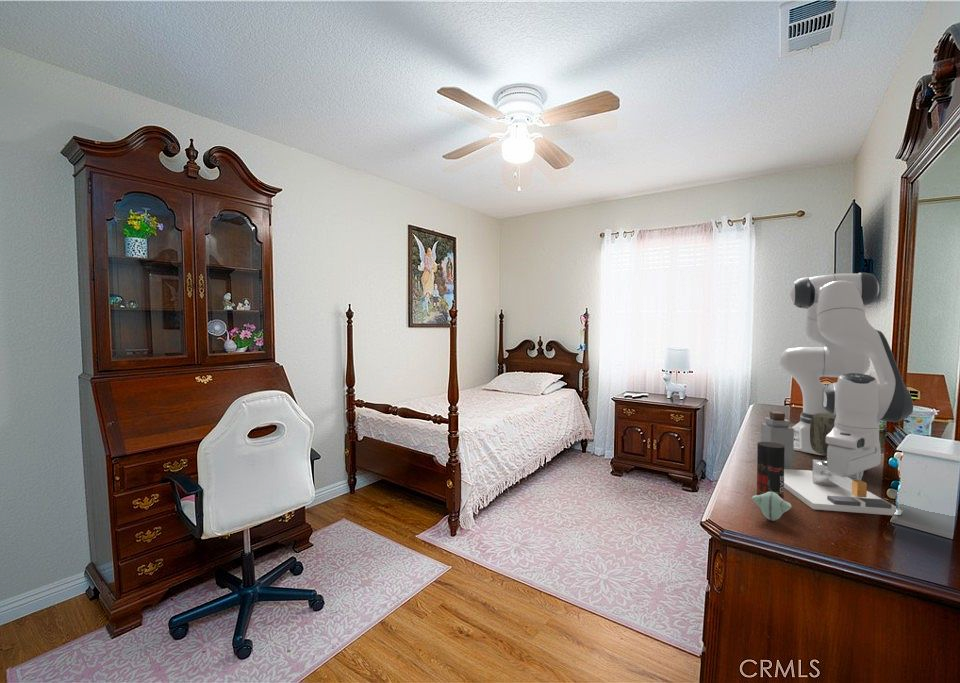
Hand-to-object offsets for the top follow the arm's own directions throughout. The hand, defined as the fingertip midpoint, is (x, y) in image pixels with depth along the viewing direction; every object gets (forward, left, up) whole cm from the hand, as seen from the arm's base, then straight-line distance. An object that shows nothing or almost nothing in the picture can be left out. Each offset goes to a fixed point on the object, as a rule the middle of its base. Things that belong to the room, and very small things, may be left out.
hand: (854, 486), depth 111 cm
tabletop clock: (-29, +12, -4) cm, 32 cm away
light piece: (-3, -3, -2) cm, 4 cm away
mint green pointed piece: (+18, -27, -4) cm, 32 cm away
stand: (-5, -4, -4) cm, 8 cm away
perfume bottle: (-27, -7, -4) cm, 29 cm away
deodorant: (+5, -22, -4) cm, 23 cm away
